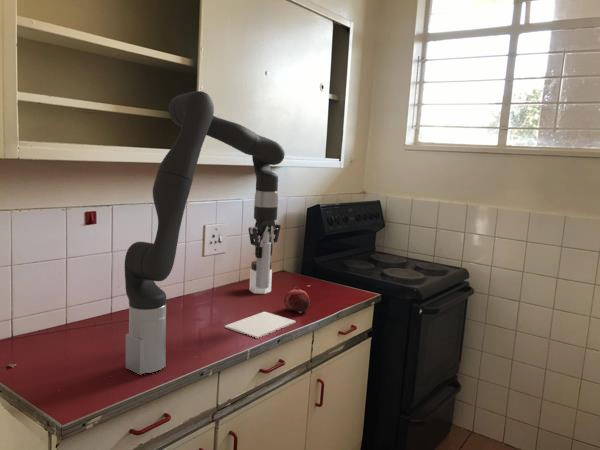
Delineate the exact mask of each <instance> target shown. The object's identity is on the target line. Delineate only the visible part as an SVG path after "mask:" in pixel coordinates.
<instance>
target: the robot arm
mask: <svg viewBox="0 0 600 450" xmlns="http://www.w3.org/2000/svg"><path fill="white" fill-rule="evenodd" d="M214 111H215V107H214V102H213V100H212V98H211V96H210V95H209V94H208V93H207V92H205V91H202V90H201V91H200V90H199V91H191V92H186V93H182V94H179V95H176V96H174V97H173V98H172V99H171V100H170V102H169V105H168V115H169V117H170V119H171V120H172V121H173V123H174V124H175V125H177V126H178V127H181V128H180V132H179V134H178V136H177V139H176V141H175V142H174V144H173V145H172V147H171V148H170V149H169V151H168V152H167V153H166V155H165V156H164V158H163V159H162V161H161V162H160V164H159V165H158V169H157V172H156V175H155V179H154V183H153V187H152V199H153V202H154V203H153V204H154V209H155V211H156V216H157V230H156V235H155V239H154V242H153V243H152V242H147V241H135V242H133V243H132V244H131V245H130V246H129V247H128V249H127V251H126V253H125V258H124V283H125V294H126V296H127V298H128V315H129V316H128V333H126V334H125V369H126V368H127V369H129V370H131V371H133V372H135V373H137V374H143V373H151V372H154V371H158V370H161V369H162V368H164V367H165V368H166V355H167V354H166V353H167V352H166V349H167V348H166V347H167V346H166V344H167V343H166V341H167V293H166V292H165V291H163V289H162V288H160V287H159V286H158V285H157V284H156V282H163V281H165V280H166V279H167V278H169V276H170V274H171V273H172V270H173V268H174V267H173V266H174V264H175V260H176V255H177V249H178V243H179V242H178V241H179V236H180V230H181V227H182V226H181V225H182V221H183V217H184V213H185V209H186V205H187V202H188V199H189V195H190V191H191V189H192V184H193V180H194V175H195V172H196V167H197V164H198V161H199V158H200V153H201V151H202V147H203V144H204V142H205V139H206V137H211V138H213V139H215V140H218V141H219V142H221V143H224V144H226V145H228V146H229V147H231V148H233V149H236V150H237V151H239V152H241V153H242V154H245V155H247V156H251V160H252V164H253V169H254V174H255V179H256V180H255V194H254V205H253V206H254V207H253V219H254V220H255V224H254V226H252V227H251V226H250V227H248V229H247V230H248V234H249V235H248V236H249V241H250V245H253V246H254V247H255V248H254V255H255V258H256V259H257V258H262V245H263V241H264V240H265V238H266V234H267V232H269V242H271V253H270V257H272V256H273V249H274V248H273V246H274V244H275V243H277V242H278V239H279V236H280V230H281V228H282V227H281V224H277V223H276V222H275V221H276V220H277V219H278V205H279V203H278V202H279V196H278V193H279V192H278V191H279V190H278V187H279V186H278V185H279V176H278V175H277V173H275V172H274V171H272V170H271V166H277V165H279V164H281V163H282V162H283V161H284V159H285V150H284V148H283V146H282V145H281V144H280V143H278V142H277V141H275V140H272V139H270V138H267V137H266V136H262V135H259V134H257V133H256V132H254V131H252V130H250V129H249V128H247V127H245V126H243V125H242V124H239V123H236V122H233V121H230V120H226V119H223V118H221V117H220V118H219V117H218V116H215V115H214V113H215V112H214ZM268 228H270V229H268ZM260 236H262V237H260ZM259 241H260V243H259ZM165 368H164V369H165ZM127 369H126V370H127ZM129 370H128V371H129ZM131 371H130V372H131ZM161 371H162V370H161ZM133 372H132V373H133ZM135 373H134V374H135ZM137 374H136V375H137Z"/></svg>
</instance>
